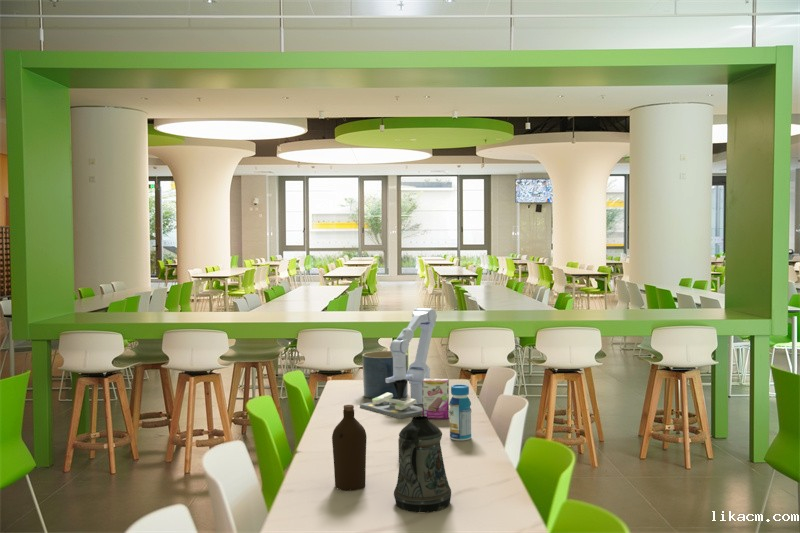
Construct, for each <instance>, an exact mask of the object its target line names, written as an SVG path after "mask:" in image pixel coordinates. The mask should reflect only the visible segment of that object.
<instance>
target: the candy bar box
mask: <svg viewBox="0 0 800 533" xmlns="http://www.w3.org/2000/svg"><path fill="white" fill-rule="evenodd" d="M422 385H423V404H422V408H423V414H422V416H426V417H427V418H428V420H434V419H435V420H449V419H450V413H449V409H450V405H449V403H450V379H449V378H430V379H423V382H422Z"/></svg>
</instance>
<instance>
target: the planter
mask: <svg viewBox="0 0 800 533" xmlns="http://www.w3.org/2000/svg"><path fill="white" fill-rule="evenodd" d="M361 355H362V356H361V357H362V382H363V396H364V397H365V398H367V399H370V400H372V399H374V398H376V397H379V396H381V395H383V394H385V393H387V392H388V393H392V394H393V397H392V399H396V400H399V399H403V398H405V397H407V396H408V394H409V393H408V392H409V390H408V389H409V386H408V385H409V384H408V383H409V381H408V380H406V381H407V385H406V387H405V389H404V393H403V397H398V396H397V392H396V389H395V387H394V385H393V383H392V382H390V383H386V380H385V378H389V377H392V376H393V356H392V353H391V350H380V351H379V350H378V351H369V352H368V351H367V352H365V353H363V354H361ZM408 356H409V354H408V352H406V374H407V371H408V369H409V357H408Z"/></svg>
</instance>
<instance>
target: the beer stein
mask: <svg viewBox="0 0 800 533" xmlns="http://www.w3.org/2000/svg"><path fill="white" fill-rule="evenodd" d="M399 437H400V440H401V442H402V446H401V448H400V451H399V450H398V462H399V464H398V473H397V474H398V475H397V482H396V485H395V488H394V491H393V498H394V499H395V505H396V507H397V508H399V509H400V510H402V511H407V512H411V513H418V512H425V513H434V512H433V511H435V512H440V511H442V510H445V509H446V508H448V507H449V506H450V504H451V498H452V489H451V486H450V485H449V481H448V478H447V474H446V469H445V464H444V463H445V462H444V458H443V453H442V446H441V440H442V439H443V438H442V437H443V432H442V430H441V429H440V428H439V427H438V426H436V425H435V424H434V423H433V422H431V421H430V419H428V418H427V417H426V416H423V415H417V416H412V417H411V420H410V421H409V423H407V424H406V425H405V426H404V427H403V428H401V430H400V431H399V433H398V438H399Z"/></svg>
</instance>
